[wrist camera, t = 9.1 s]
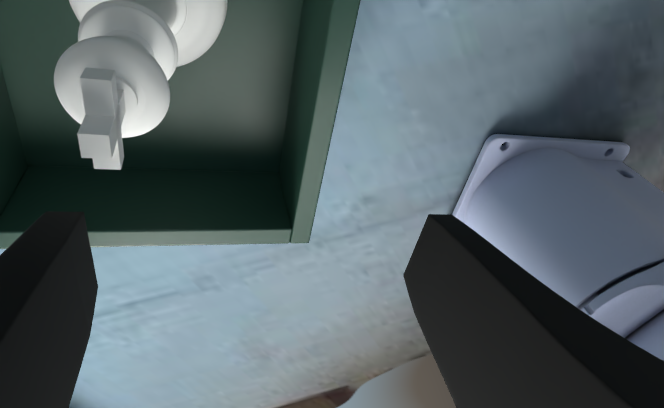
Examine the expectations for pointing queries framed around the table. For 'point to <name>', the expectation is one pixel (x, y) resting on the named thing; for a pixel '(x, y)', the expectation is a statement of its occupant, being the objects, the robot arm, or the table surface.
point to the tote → (181, 131)
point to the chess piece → (129, 66)
